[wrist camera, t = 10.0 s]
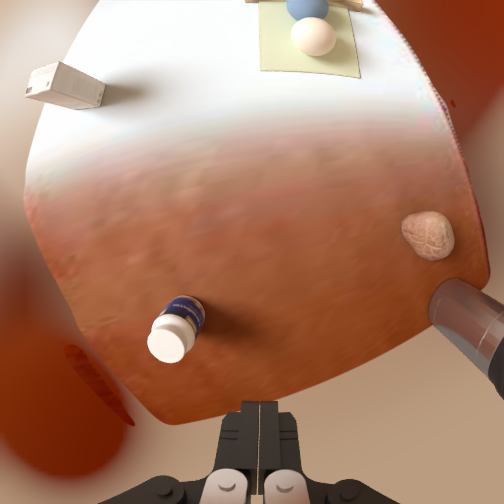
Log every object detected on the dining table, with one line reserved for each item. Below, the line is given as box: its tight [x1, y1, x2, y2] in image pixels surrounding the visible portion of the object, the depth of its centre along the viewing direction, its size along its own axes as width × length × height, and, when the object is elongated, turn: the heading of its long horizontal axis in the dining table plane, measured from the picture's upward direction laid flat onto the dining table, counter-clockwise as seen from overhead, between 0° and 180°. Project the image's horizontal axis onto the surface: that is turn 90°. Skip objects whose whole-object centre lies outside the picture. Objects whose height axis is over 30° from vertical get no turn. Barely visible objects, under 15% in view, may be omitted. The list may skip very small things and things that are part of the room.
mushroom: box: [401, 211, 455, 261], centre depth 31 cm, size 8×6×8 cm
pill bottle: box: [148, 296, 205, 363], centre depth 34 cm, size 6×6×10 cm
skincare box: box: [25, 62, 105, 110], centre depth 26 cm, size 6×4×12 cm
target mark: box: [258, 1, 360, 78], centre depth 29 cm, size 14×14×1 cm
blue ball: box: [286, 0, 329, 21], centre depth 25 cm, size 6×6×6 cm
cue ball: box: [291, 17, 336, 56], centre depth 27 cm, size 6×6×6 cm
